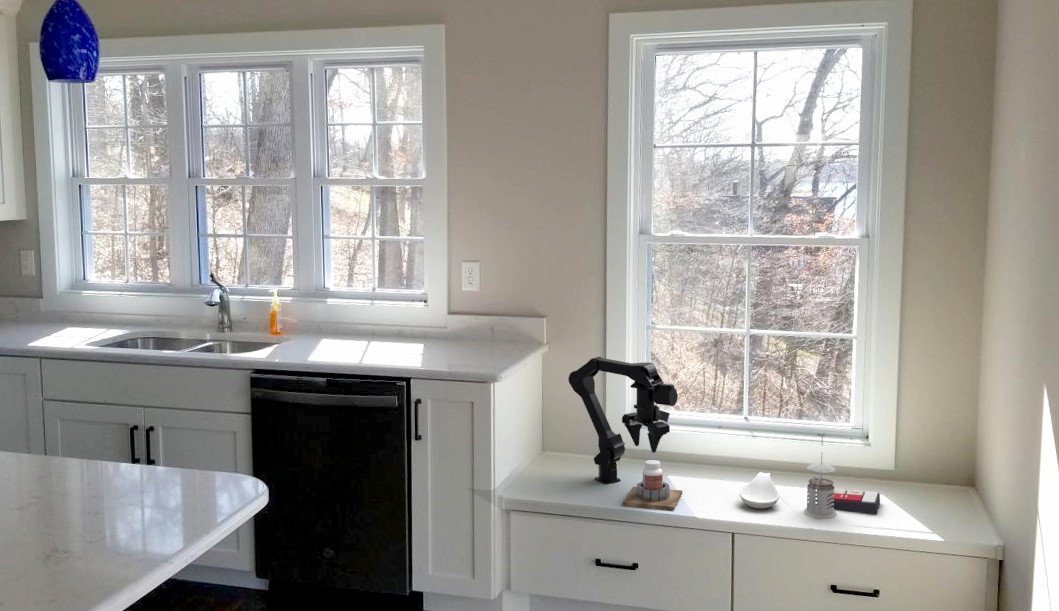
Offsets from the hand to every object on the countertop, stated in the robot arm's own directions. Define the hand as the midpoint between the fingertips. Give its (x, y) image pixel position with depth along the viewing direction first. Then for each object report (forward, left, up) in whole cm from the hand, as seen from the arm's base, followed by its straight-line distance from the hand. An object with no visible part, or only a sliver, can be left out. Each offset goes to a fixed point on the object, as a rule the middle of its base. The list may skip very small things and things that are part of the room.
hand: (645, 449), depth 317 cm
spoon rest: (+28, +24, -14) cm, 39 cm away
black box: (+47, +44, -14) cm, 66 cm away
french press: (+47, +30, -13) cm, 57 cm away
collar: (+11, -5, -12) cm, 17 cm away
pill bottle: (+11, -5, -12) cm, 17 cm away
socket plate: (+11, -5, -13) cm, 18 cm away
